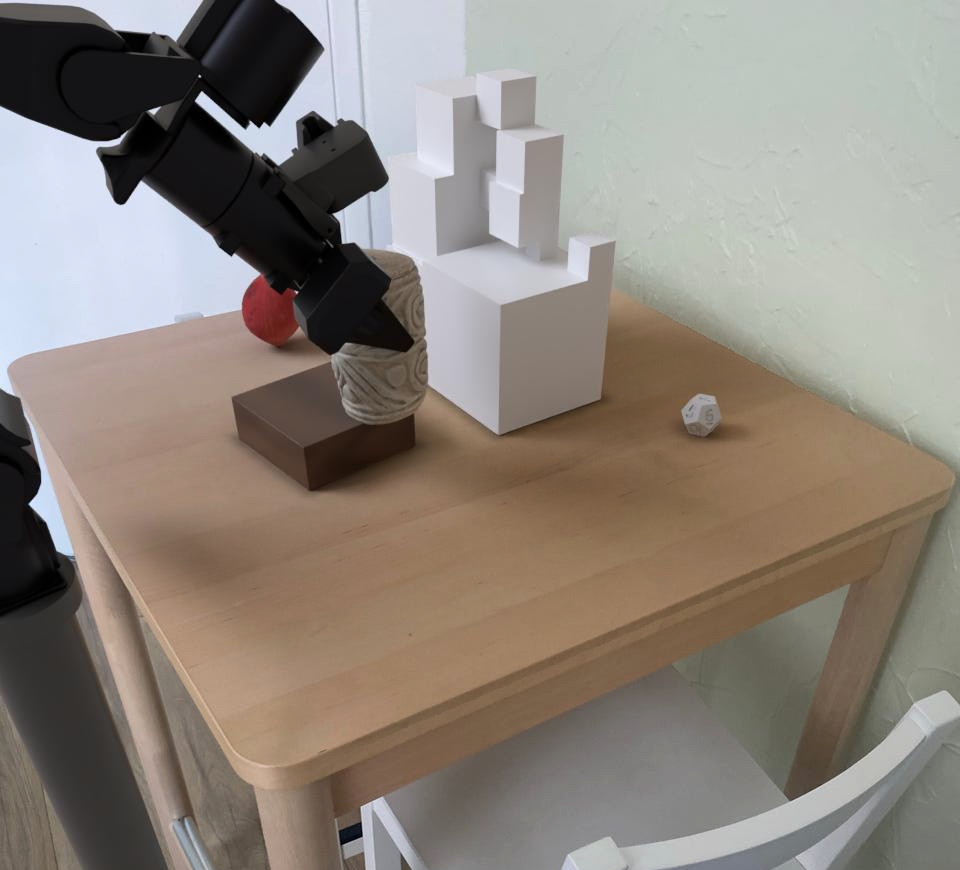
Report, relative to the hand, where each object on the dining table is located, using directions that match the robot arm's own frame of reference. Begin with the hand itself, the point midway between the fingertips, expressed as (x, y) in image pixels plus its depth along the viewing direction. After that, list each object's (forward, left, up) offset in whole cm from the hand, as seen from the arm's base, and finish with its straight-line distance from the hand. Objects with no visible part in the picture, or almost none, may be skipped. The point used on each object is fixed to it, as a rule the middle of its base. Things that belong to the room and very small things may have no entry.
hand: (396, 329), depth 72 cm
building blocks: (+17, +9, -12) cm, 23 cm away
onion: (+5, +27, -12) cm, 30 cm away
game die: (+24, -12, -12) cm, 29 cm away
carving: (-1, +1, -7) cm, 7 cm away
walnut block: (-2, +8, -12) cm, 15 cm away
